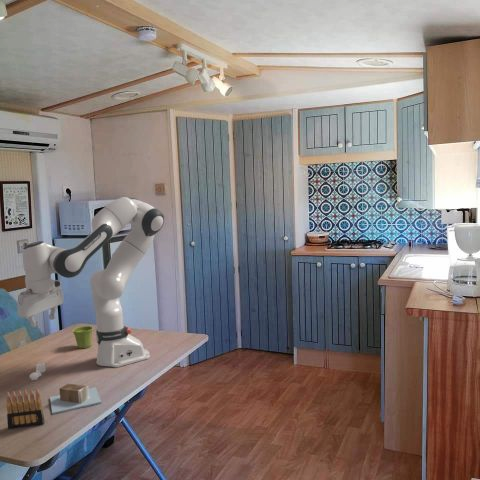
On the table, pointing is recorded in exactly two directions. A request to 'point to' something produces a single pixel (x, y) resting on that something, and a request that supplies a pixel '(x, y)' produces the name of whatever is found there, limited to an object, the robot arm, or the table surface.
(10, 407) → the ammunition clip
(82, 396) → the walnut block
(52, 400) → the blue-grey mat
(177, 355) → the table surface
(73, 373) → the table surface
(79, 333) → the plant pot
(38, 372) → the game pieces
